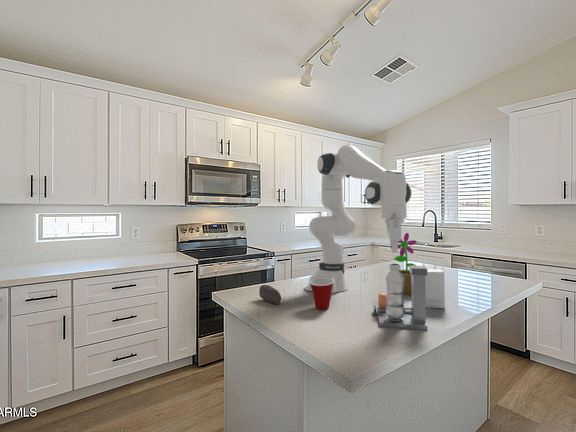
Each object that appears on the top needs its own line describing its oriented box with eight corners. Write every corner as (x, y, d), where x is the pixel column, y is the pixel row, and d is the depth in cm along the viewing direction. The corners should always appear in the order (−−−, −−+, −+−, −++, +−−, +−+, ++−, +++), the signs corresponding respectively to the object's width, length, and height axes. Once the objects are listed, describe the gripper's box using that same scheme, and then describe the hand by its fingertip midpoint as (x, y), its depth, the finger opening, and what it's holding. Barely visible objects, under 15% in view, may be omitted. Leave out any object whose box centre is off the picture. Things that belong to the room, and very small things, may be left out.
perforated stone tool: (285, 305, 136) (285, 289, 136) (275, 307, 133) (275, 291, 133) (267, 297, 149) (267, 283, 148) (258, 299, 146) (258, 285, 145)
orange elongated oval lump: (377, 311, 121) (377, 295, 121) (377, 309, 125) (377, 292, 124) (388, 312, 120) (388, 295, 120) (387, 309, 124) (387, 293, 123)
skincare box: (442, 304, 134) (442, 269, 133) (445, 309, 127) (445, 272, 127) (422, 302, 136) (421, 268, 136) (423, 307, 130) (423, 271, 130)
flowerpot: (416, 288, 161) (416, 232, 160) (426, 296, 146) (426, 234, 146) (389, 288, 162) (388, 232, 162) (395, 296, 148) (395, 234, 147)
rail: (373, 315, 121) (373, 308, 121) (373, 311, 126) (373, 305, 126) (425, 318, 117) (425, 311, 117) (423, 314, 121) (422, 308, 121)
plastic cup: (304, 307, 132) (303, 280, 132) (321, 302, 139) (321, 276, 139) (322, 313, 124) (322, 284, 124) (339, 308, 131) (339, 280, 131)
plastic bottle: (382, 315, 115) (382, 263, 115) (400, 315, 116) (399, 262, 116) (390, 322, 109) (389, 266, 108) (408, 321, 109) (407, 265, 109)
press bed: (379, 326, 109) (378, 268, 109) (377, 316, 120) (377, 263, 120) (429, 330, 105) (428, 270, 105) (423, 319, 116) (422, 264, 116)
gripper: (405, 214, 102) (405, 255, 102) (400, 213, 121) (400, 247, 122) (385, 214, 103) (386, 254, 104) (384, 213, 123) (384, 247, 123)
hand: (394, 250), depth 113 cm, fingers open, 8 cm apart
